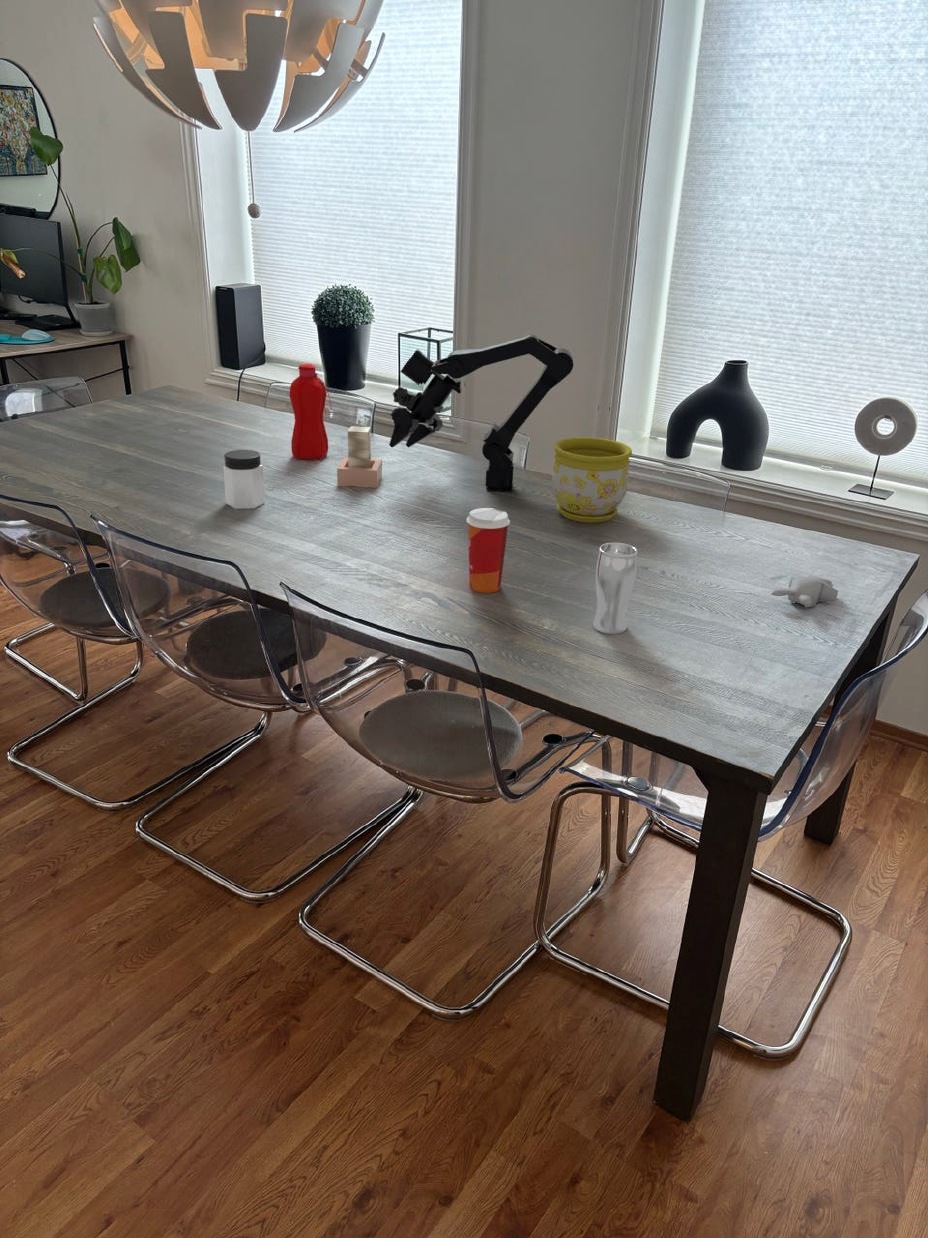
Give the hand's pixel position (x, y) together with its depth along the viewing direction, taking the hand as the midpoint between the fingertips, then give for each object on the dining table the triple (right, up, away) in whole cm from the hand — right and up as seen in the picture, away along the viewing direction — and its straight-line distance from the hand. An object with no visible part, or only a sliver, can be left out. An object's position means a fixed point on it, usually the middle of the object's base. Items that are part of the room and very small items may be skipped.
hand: (399, 446), depth 240 cm
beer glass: (+43, -45, -69) cm, 93 cm away
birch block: (-10, -7, +3) cm, 13 cm away
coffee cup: (+20, -38, -55) cm, 70 cm away
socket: (-10, -8, +4) cm, 14 cm away
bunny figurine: (+82, -41, -56) cm, 108 cm away
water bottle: (-25, +1, +22) cm, 34 cm away
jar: (-35, -17, -15) cm, 42 cm away
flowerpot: (+46, -19, -13) cm, 51 cm away
